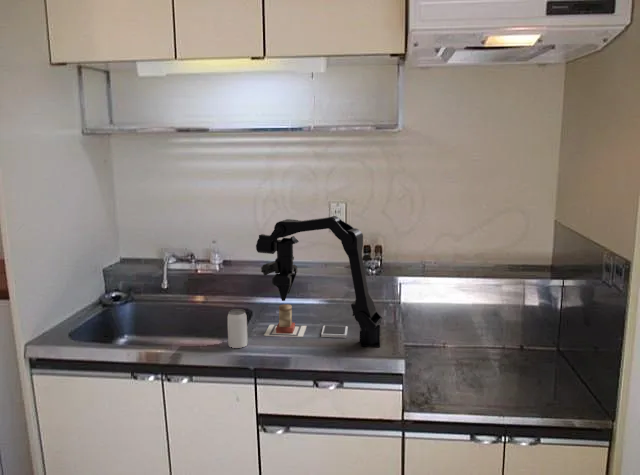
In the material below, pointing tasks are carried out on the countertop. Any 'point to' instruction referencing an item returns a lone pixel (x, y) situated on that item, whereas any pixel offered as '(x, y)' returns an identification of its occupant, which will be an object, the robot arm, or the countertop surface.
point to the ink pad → (334, 331)
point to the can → (237, 328)
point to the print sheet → (297, 332)
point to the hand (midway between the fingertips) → (285, 297)
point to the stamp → (285, 320)
